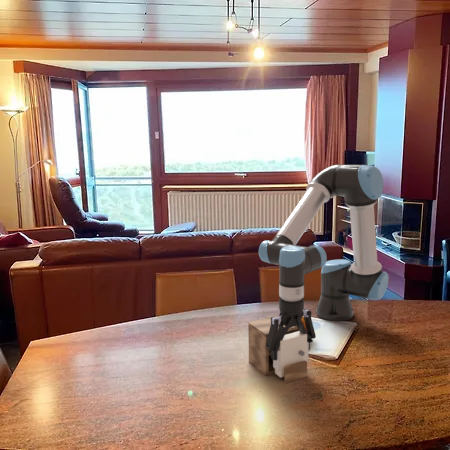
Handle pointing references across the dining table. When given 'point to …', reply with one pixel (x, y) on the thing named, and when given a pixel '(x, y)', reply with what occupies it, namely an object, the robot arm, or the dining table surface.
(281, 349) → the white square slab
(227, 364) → the dining table surface
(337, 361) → the dining table surface
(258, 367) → the cabinet
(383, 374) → the dining table surface
